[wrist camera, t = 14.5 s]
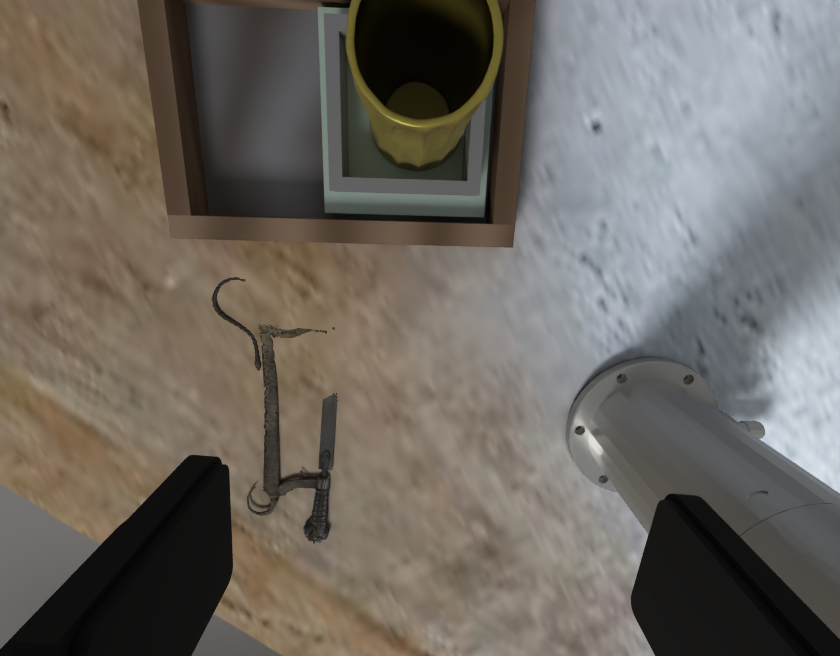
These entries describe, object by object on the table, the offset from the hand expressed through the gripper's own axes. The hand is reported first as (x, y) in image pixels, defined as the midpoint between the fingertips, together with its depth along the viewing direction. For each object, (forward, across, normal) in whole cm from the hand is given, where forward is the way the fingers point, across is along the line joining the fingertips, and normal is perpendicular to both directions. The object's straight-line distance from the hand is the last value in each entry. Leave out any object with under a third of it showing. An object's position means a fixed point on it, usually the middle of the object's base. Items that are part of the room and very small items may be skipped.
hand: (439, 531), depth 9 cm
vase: (+22, +2, -12) cm, 26 cm away
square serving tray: (+24, +3, -12) cm, 27 cm away
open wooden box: (+24, +7, -12) cm, 28 cm away
